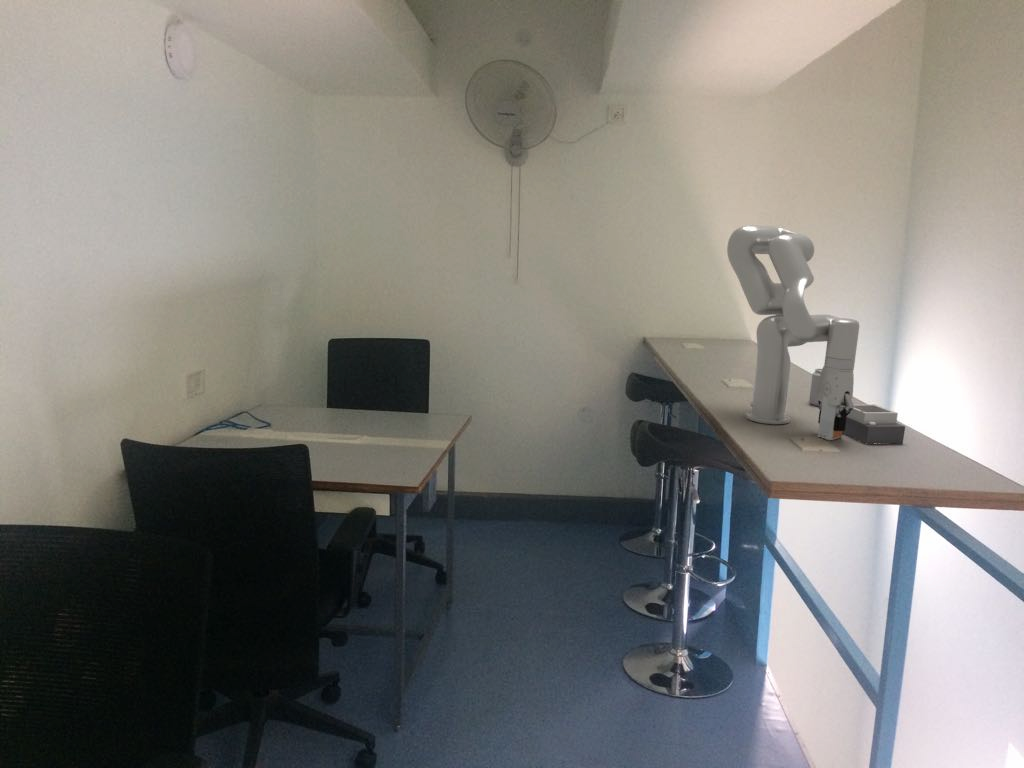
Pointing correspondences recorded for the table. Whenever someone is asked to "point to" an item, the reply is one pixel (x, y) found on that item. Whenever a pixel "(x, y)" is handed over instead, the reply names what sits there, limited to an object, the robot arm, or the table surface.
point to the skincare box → (828, 421)
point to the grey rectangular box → (873, 425)
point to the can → (815, 387)
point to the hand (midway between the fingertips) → (831, 426)
